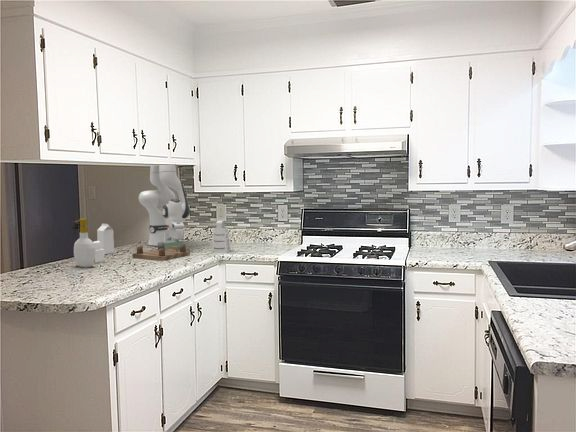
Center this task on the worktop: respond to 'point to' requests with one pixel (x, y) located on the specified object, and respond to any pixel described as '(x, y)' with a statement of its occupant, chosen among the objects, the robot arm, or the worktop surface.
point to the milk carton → (106, 238)
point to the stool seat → (161, 253)
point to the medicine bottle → (98, 252)
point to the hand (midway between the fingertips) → (176, 245)
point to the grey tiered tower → (220, 238)
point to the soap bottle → (84, 247)
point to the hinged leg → (170, 244)
